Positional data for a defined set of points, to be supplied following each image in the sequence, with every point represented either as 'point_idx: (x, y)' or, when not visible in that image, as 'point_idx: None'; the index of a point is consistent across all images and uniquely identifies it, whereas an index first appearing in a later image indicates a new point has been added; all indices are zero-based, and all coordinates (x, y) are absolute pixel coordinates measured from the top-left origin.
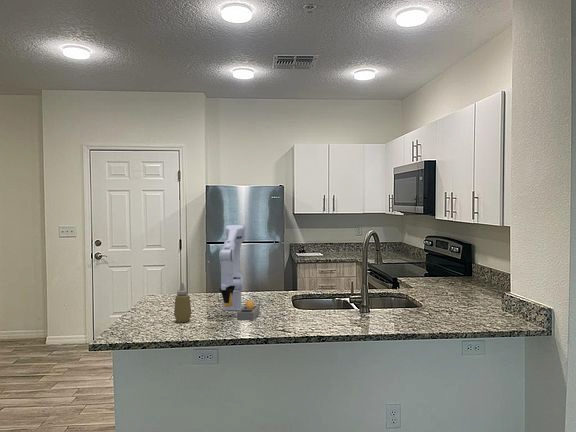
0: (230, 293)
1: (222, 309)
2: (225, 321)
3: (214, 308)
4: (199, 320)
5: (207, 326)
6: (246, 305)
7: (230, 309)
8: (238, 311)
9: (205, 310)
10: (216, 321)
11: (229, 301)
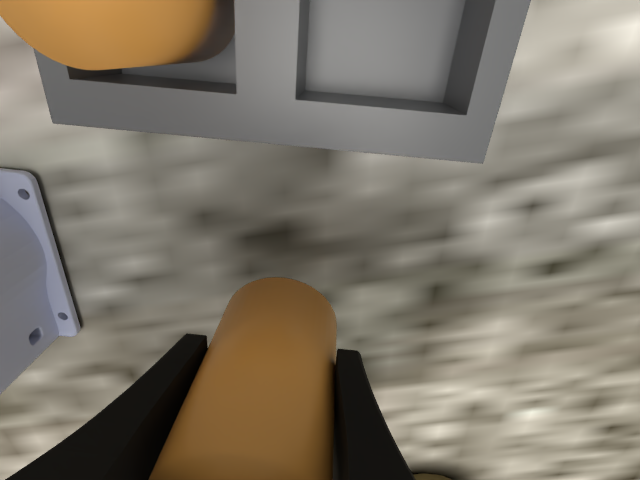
0: (215, 473)
1: (77, 332)
2: (490, 248)
3: (47, 385)
4: (418, 425)
5: (625, 359)
6: (174, 50)
7: (58, 269)
8: (417, 150)
9: None
10: (473, 320)
11: (323, 354)
